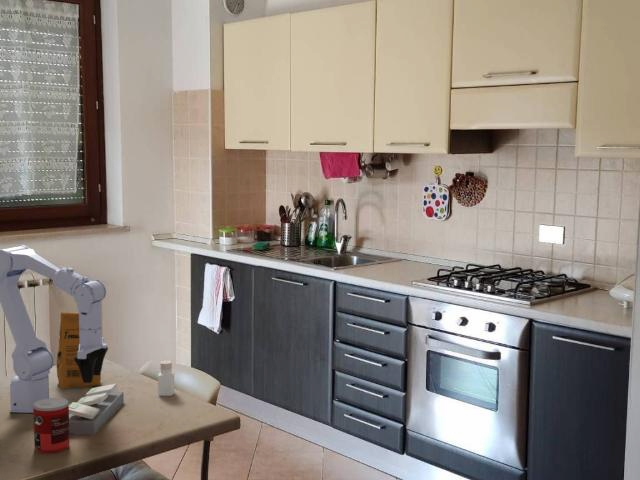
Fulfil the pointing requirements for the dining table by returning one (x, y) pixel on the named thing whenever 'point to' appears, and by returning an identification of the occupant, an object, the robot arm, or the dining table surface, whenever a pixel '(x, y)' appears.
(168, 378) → the pepper shaker
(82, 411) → the rocker
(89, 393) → the rocker
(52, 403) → the canned food
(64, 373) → the coffee package
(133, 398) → the dining table surface
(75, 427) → the switch strip
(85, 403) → the rocker
